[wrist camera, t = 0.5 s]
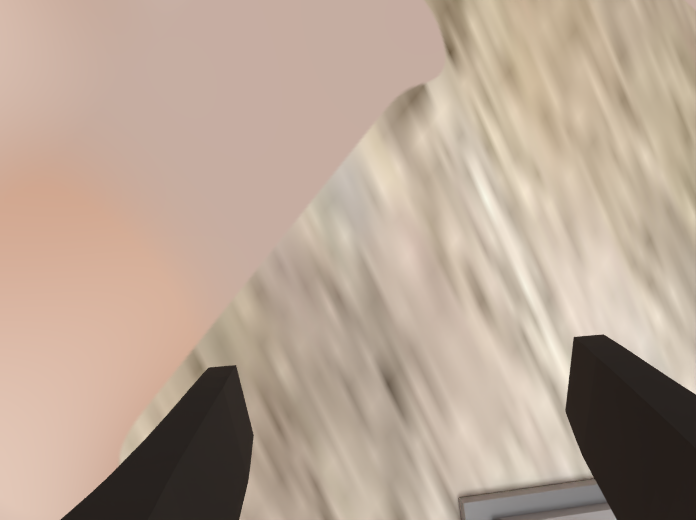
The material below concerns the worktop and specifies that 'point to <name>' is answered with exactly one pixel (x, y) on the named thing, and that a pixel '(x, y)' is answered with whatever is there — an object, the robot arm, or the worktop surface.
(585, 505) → the gray compartment tray
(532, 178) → the worktop surface
